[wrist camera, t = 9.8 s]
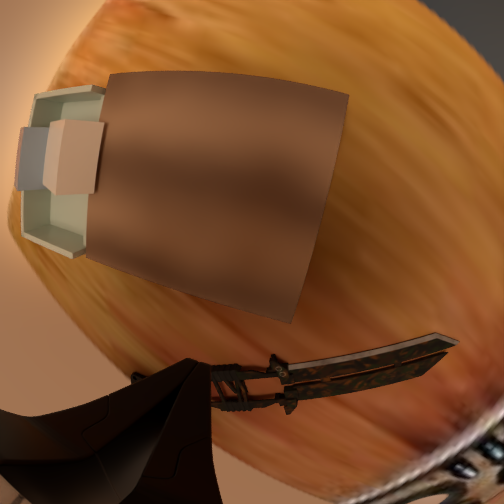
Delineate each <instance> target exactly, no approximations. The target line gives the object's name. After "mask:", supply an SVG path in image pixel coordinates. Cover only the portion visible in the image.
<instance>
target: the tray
mask: <svg viewBox="0 0 504 504" xmlns="http://www.w3.org/2000/svg"><path fill="white" fill-rule="evenodd" d="M105 92H106V89H105V88H102V87H99V86H95V85H85V86H78V87H71V88H65V89H59V90H53V91H48V92H43V93H38V94H35V95H34V100H33V104H32V109H31V114H30V119H29V125H28V127H47V128H49V127H50V122H53V121H58V120H64V119H70V120H83V121H94V122H99V118H100V113H101V109H102V104H103V100H104V96H105ZM88 195H89V194H73V195H54V194H53V193H52V192H51V191H50V190H49V189H41V190H25V191H21V236H22V237H25V238H27V239H29V240H31V241H33V242H35V243H37V244H40V245H42V246H44V247H46V248H48V249H51V250H53V251H55V252H57V253H60V254H62V255H64V256H67V257H69V258H71V259H74V258H76V257H79V256H81V255H83V254H86V227H87V208H88Z"/></svg>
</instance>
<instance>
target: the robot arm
mask: <svg viewBox="0 0 504 504" xmlns="http://www.w3.org/2000/svg"><path fill="white" fill-rule="evenodd" d="M211 437H212V432H211V365H210V364H206V363H203V362H198V361H197V360H194V359H191V358H185V359H183V360H181V361H179V362H177V363H175V364H173V365H171V366H169V367H167V368H165V369H163V370H161V371H159V372H157V373H155V374H153V375H151V376H148V377H145V376H142V375H140V374H138V373H136V372H133V373H132V375H131V385H129V386H127V387H125V388H122V389H120V390H118V391H116V392H113V393H111V394H109V396H108V395H106V396H104V397H101V398H99V399H96V400H94V401H91V402H89V403H86V404H83V405H80V406H77V407H73V408H69V409H66V410H62V411H58V412H54V413H50V414H45V415H41V416H33V417H27V416H21V415H17V414H13V413H10V412H6V411H4V410H1V409H0V504H223V502H222V499H221V495H220V491H219V487H218V483H217V478H216V474H215V469H214V463H213V454H212V438H211Z"/></svg>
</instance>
